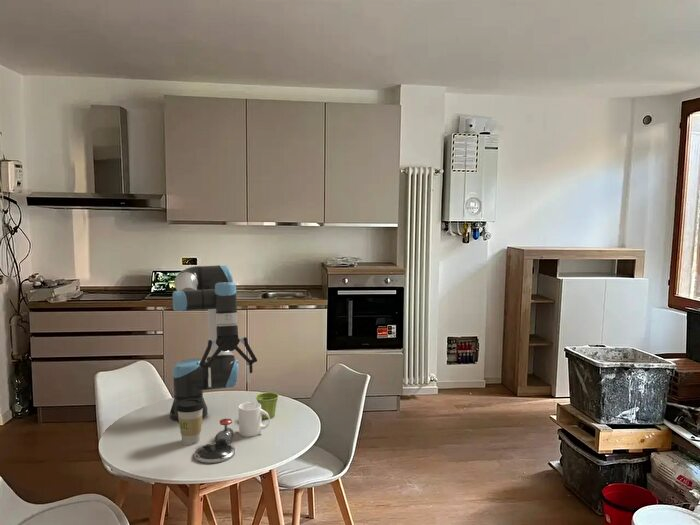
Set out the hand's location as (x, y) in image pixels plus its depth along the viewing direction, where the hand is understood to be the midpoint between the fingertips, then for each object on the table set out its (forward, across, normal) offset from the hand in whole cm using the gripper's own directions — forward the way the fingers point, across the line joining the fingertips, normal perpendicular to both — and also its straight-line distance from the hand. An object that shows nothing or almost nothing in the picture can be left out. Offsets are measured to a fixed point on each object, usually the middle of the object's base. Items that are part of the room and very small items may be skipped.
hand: (229, 384), depth 191 cm
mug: (+22, +11, +15) cm, 28 cm away
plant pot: (+19, +19, +30) cm, 40 cm away
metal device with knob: (+24, -4, +4) cm, 25 cm away
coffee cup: (+22, -13, +15) cm, 30 cm away
